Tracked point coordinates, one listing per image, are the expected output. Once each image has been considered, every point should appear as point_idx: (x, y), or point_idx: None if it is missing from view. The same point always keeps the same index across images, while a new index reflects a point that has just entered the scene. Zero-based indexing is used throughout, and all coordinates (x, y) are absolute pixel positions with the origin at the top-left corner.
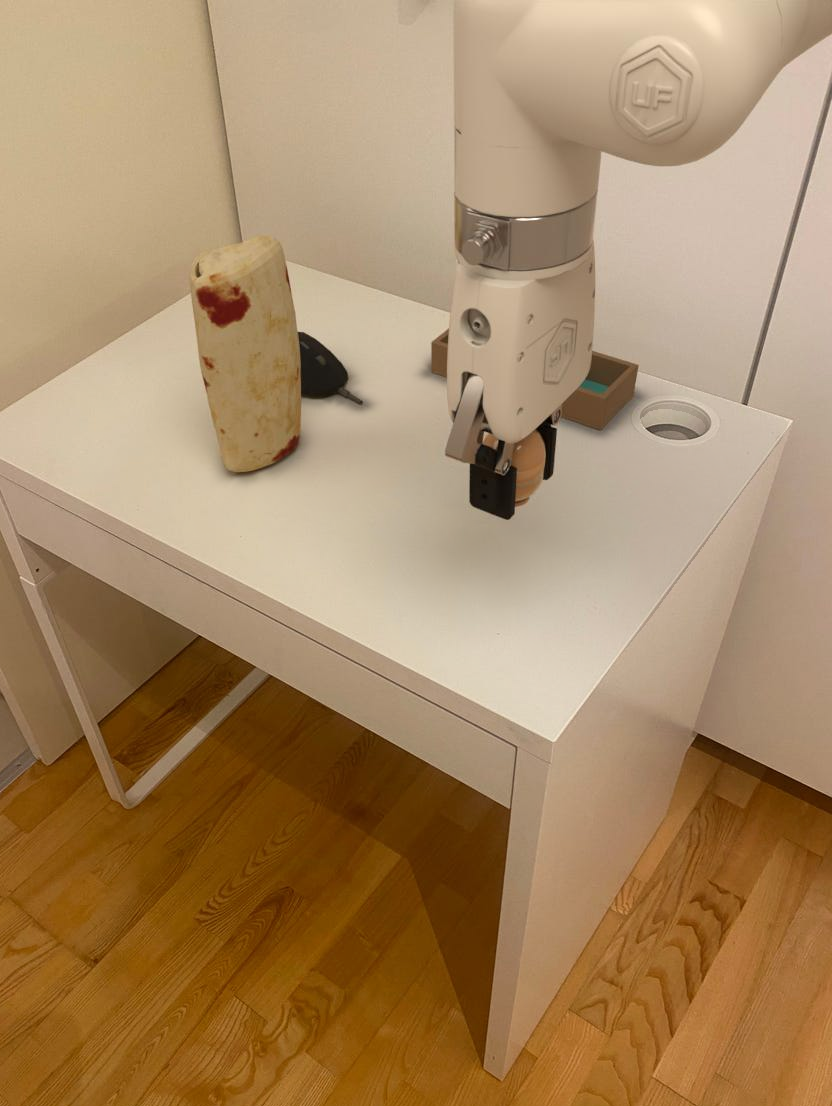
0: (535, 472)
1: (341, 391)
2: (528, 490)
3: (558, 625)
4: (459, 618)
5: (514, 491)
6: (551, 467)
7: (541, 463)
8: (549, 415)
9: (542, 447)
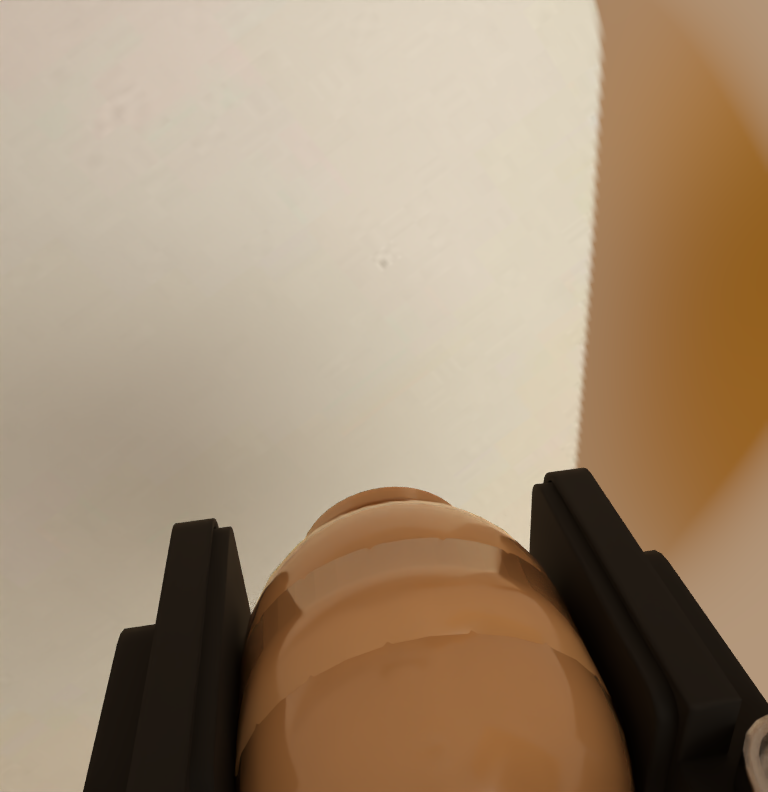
0: (471, 601)
1: None
2: (479, 530)
3: (253, 157)
4: (398, 364)
5: (622, 573)
6: (194, 563)
7: (419, 632)
8: None
9: (389, 739)
